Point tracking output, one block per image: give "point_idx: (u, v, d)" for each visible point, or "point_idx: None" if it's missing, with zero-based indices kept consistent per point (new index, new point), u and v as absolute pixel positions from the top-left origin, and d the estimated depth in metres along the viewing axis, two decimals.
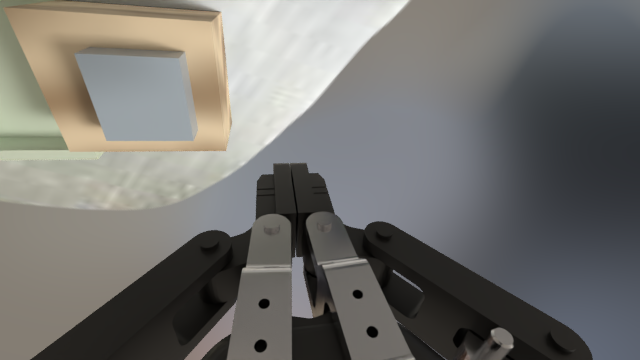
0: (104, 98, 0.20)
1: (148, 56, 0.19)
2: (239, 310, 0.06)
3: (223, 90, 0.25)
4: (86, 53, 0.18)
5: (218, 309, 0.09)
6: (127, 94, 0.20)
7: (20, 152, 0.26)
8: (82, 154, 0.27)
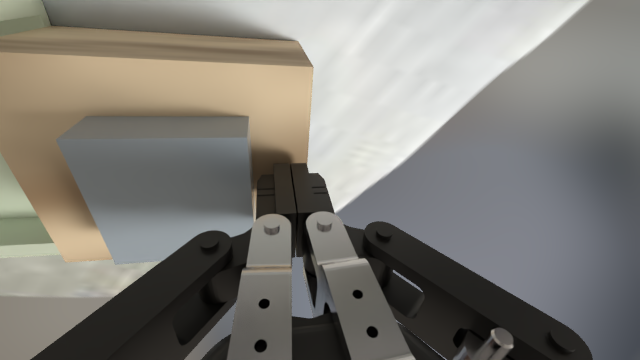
0: (112, 206, 0.11)
1: (192, 136, 0.10)
2: (239, 310, 0.06)
3: None
4: (79, 137, 0.10)
5: (218, 309, 0.09)
6: (152, 197, 0.11)
7: None
8: None
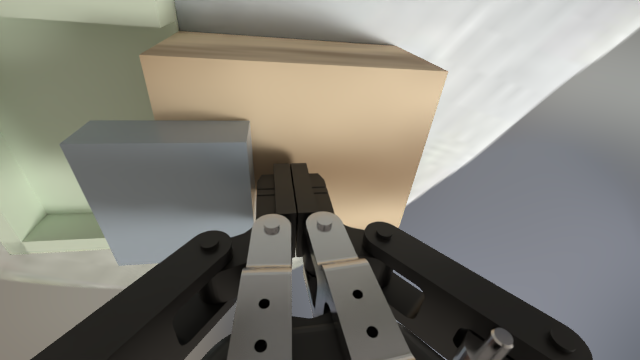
0: (115, 209, 0.11)
1: (193, 141, 0.10)
2: (239, 310, 0.06)
3: None
4: (82, 141, 0.10)
5: (218, 309, 0.09)
6: (154, 201, 0.11)
7: (101, 240, 0.18)
8: None
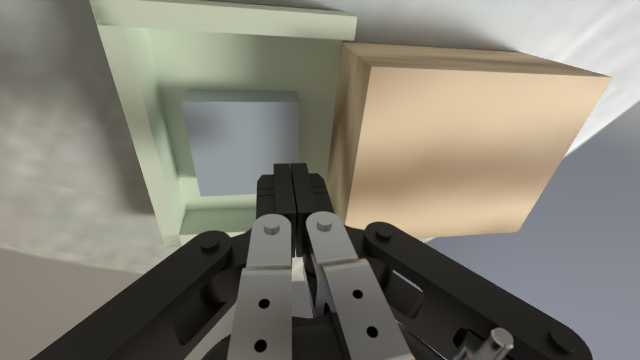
0: None
1: (222, 91, 0.16)
2: (239, 310, 0.06)
3: None
4: (285, 91, 0.17)
5: (218, 309, 0.09)
6: None
7: None
8: None
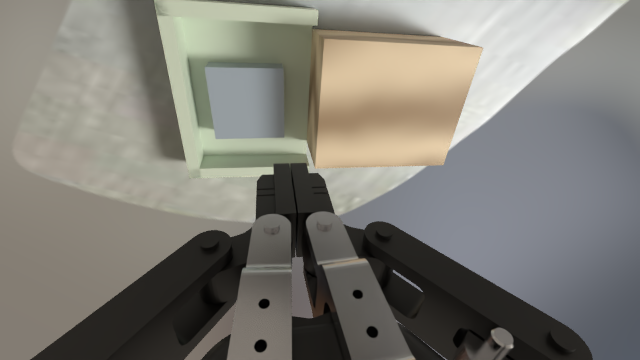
0: None
1: (231, 63, 0.24)
2: (239, 310, 0.06)
3: None
4: (274, 63, 0.25)
5: (218, 309, 0.09)
6: None
7: (247, 169, 0.27)
8: None
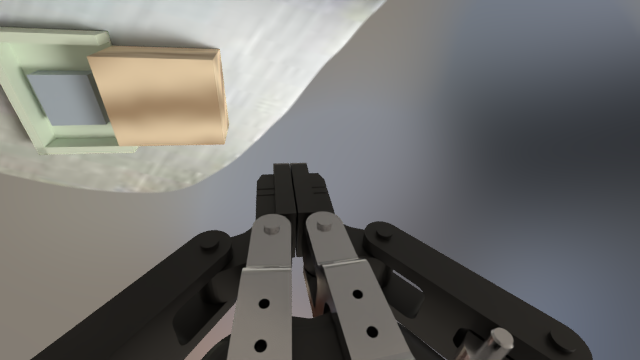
0: None
1: (55, 70, 0.34)
2: (239, 310, 0.06)
3: (221, 102, 0.36)
4: (88, 71, 0.34)
5: (218, 309, 0.09)
6: None
7: (82, 147, 0.37)
8: (124, 149, 0.38)
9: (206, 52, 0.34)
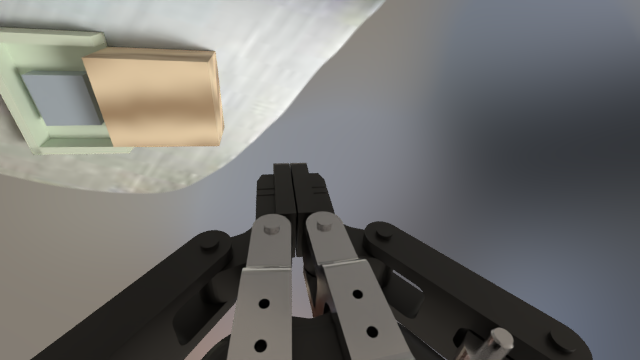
0: None
1: (50, 71, 0.34)
2: (239, 310, 0.06)
3: (217, 104, 0.36)
4: (84, 71, 0.34)
5: (218, 309, 0.09)
6: None
7: (76, 148, 0.37)
8: (118, 149, 0.38)
9: (202, 54, 0.34)
